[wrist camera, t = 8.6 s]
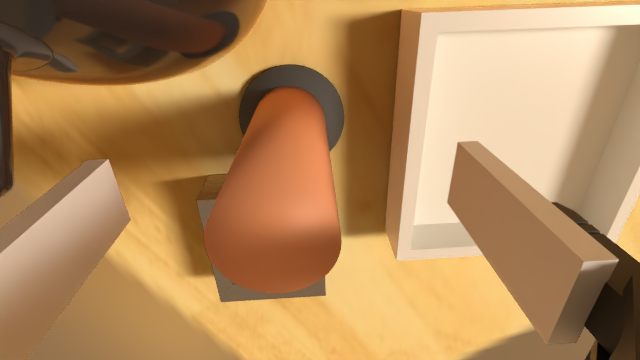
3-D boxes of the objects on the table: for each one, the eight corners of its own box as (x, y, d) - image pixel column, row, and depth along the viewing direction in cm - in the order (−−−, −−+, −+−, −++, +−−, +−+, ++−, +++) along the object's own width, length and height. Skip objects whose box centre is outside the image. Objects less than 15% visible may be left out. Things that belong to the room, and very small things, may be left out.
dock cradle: (401, 9, 18) (421, 12, 15) (665, -1, 18) (734, 1, 15) (384, 228, 24) (396, 260, 21) (576, 217, 25) (613, 247, 22)
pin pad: (232, 66, 19) (231, 68, 18) (343, 62, 19) (344, 63, 18) (247, 165, 21) (246, 168, 21) (343, 161, 22) (343, 164, 21)
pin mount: (208, 175, 22) (196, 200, 19) (319, 169, 22) (322, 193, 19) (228, 270, 25) (221, 302, 23) (322, 264, 26) (325, 295, 23)
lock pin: (250, 87, 19) (190, 189, 9) (323, 84, 19) (341, 182, 9) (259, 154, 21) (217, 296, 11) (325, 151, 21) (341, 290, 11)
